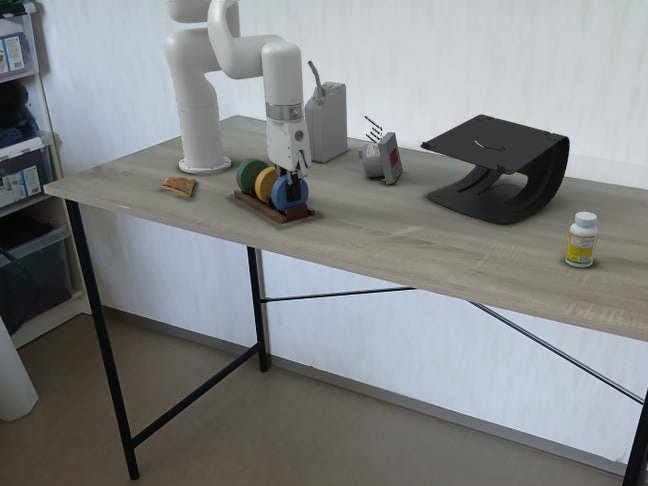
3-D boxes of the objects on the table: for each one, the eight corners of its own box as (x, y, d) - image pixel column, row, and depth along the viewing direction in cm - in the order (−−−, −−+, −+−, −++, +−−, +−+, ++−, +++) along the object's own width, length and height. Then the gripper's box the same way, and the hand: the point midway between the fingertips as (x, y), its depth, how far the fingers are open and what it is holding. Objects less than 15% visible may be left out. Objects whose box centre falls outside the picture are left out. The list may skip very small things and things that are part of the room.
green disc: (238, 196, 167) (234, 161, 163) (269, 189, 172) (266, 154, 167) (242, 199, 166) (238, 164, 161) (273, 191, 170) (270, 157, 166)
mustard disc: (255, 205, 162) (254, 168, 158) (286, 200, 167) (286, 164, 163) (259, 207, 161) (259, 171, 157) (291, 202, 166) (292, 167, 162)
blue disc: (272, 214, 158) (269, 177, 153) (304, 206, 162) (302, 170, 158) (277, 217, 156) (275, 180, 152) (309, 208, 161) (307, 172, 156)
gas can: (318, 166, 188) (313, 62, 174) (301, 163, 190) (295, 59, 176) (348, 150, 200) (346, 51, 186) (332, 147, 201) (329, 48, 188)
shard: (191, 200, 166) (190, 193, 165) (155, 201, 165) (154, 193, 165) (196, 183, 175) (195, 176, 174) (163, 184, 174) (162, 176, 173)
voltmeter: (414, 182, 180) (415, 142, 174) (370, 188, 176) (369, 146, 170) (375, 150, 200) (375, 112, 195) (335, 154, 196) (333, 116, 191)
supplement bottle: (584, 270, 142) (591, 223, 137) (559, 262, 145) (566, 215, 140) (597, 261, 145) (605, 215, 140) (573, 253, 148) (580, 208, 143)
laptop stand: (566, 201, 172) (576, 134, 164) (504, 229, 157) (511, 157, 149) (480, 174, 186) (485, 111, 178) (415, 197, 172) (417, 130, 163)
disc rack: (229, 198, 168) (227, 184, 167) (267, 188, 174) (266, 175, 172) (280, 228, 155) (279, 213, 153) (320, 217, 160) (319, 203, 159)
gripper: (323, 116, 145) (326, 206, 155) (279, 98, 154) (285, 184, 165) (290, 123, 140) (296, 214, 151) (247, 104, 150) (255, 191, 160)
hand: (290, 198), depth 157 cm, fingers closed on blue disc, 2 cm apart
